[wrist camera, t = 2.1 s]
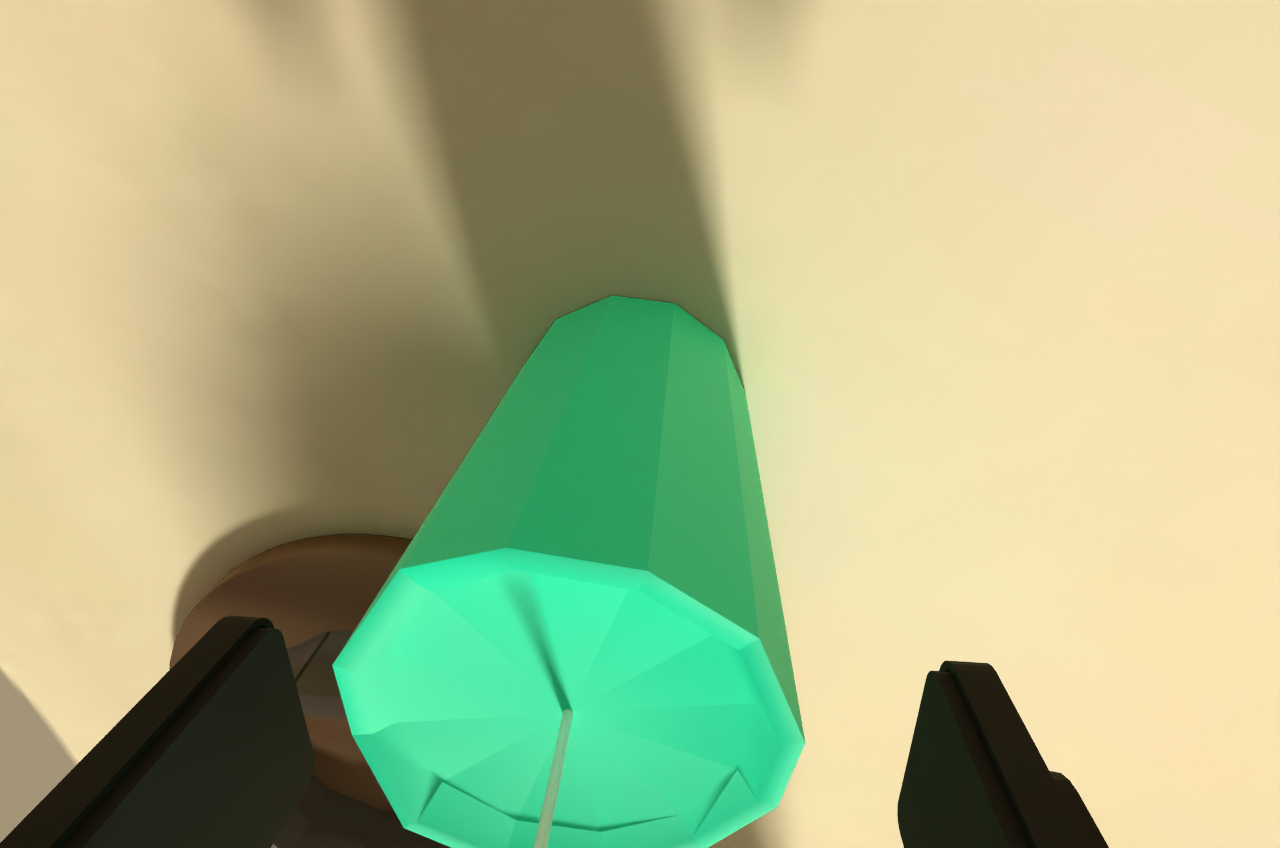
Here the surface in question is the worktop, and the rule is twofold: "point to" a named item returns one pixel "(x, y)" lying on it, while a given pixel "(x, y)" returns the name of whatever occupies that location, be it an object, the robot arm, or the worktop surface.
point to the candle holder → (318, 674)
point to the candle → (588, 610)
